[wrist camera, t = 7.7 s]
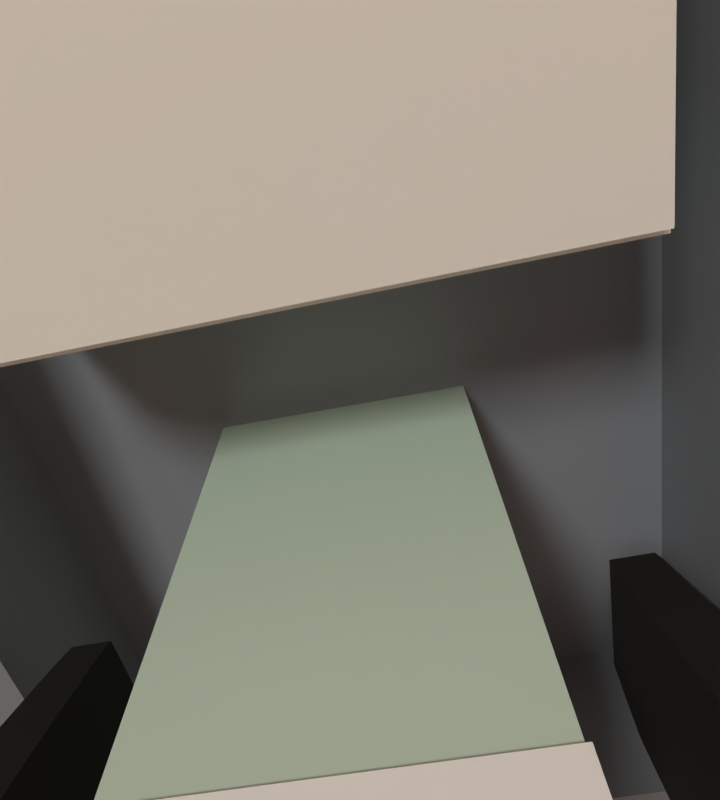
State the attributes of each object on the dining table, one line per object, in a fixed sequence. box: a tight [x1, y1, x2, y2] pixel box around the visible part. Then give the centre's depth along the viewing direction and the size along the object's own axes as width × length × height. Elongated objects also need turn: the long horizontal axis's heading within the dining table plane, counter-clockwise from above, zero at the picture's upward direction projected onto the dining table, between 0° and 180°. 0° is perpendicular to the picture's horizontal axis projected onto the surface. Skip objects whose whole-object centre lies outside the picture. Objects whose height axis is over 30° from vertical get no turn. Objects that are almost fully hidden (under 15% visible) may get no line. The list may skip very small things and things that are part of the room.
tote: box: [0, 0, 720, 800], centre depth 10 cm, size 13×21×4 cm, turn 12°
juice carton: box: [94, 386, 613, 800], centre depth 9 cm, size 4×4×8 cm
